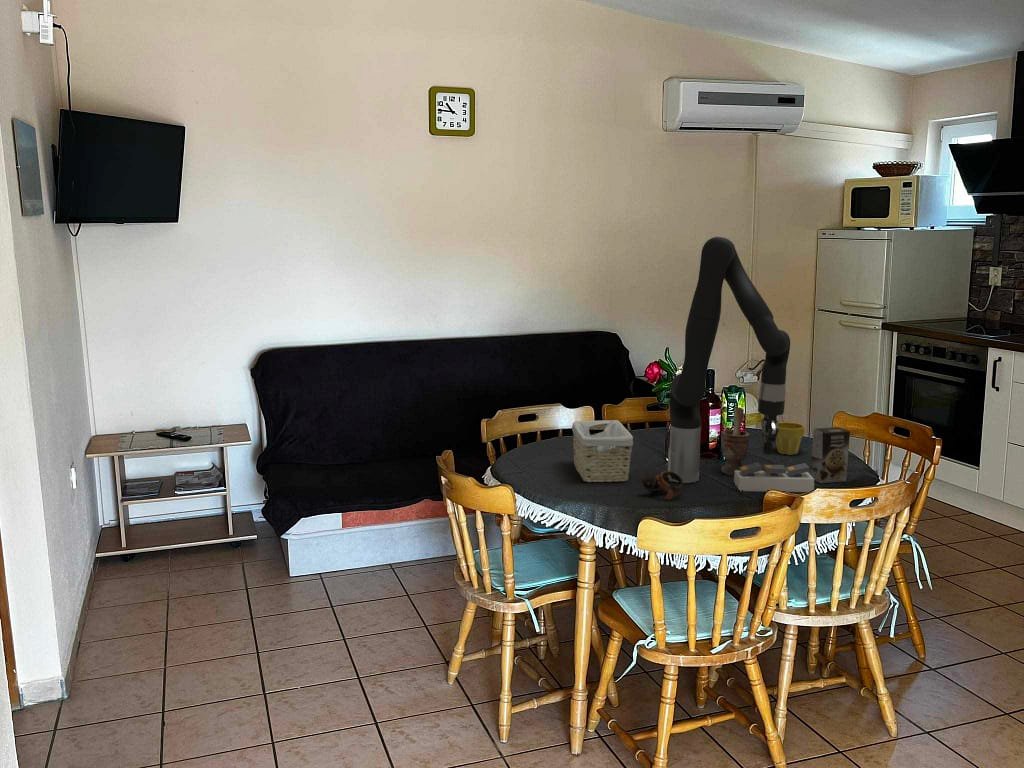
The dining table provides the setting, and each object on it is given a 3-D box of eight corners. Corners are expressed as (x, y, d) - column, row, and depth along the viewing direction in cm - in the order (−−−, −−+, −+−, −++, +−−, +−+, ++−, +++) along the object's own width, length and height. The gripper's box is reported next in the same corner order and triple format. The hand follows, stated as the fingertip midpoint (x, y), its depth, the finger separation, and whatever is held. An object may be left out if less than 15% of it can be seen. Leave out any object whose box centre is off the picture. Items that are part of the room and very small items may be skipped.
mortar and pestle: (715, 465, 301) (718, 406, 297) (742, 465, 300) (745, 406, 296) (722, 476, 289) (725, 414, 285) (749, 476, 289) (753, 414, 285)
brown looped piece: (671, 490, 277) (682, 470, 272) (677, 512, 269) (688, 493, 265) (634, 482, 274) (645, 462, 270) (639, 505, 267) (650, 485, 262)
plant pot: (768, 448, 322) (770, 421, 320) (798, 448, 321) (800, 421, 319) (775, 456, 311) (777, 428, 310) (806, 456, 311) (808, 428, 309)
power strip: (739, 491, 274) (739, 476, 273) (733, 482, 282) (734, 468, 281) (813, 492, 273) (814, 477, 272) (806, 484, 281) (807, 469, 280)
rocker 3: (790, 476, 275) (789, 471, 274) (786, 471, 279) (785, 467, 279) (810, 471, 274) (809, 466, 274) (806, 467, 278) (805, 462, 278)
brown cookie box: (821, 483, 282) (824, 432, 278) (809, 477, 288) (812, 427, 284) (847, 481, 284) (850, 431, 281) (834, 475, 290) (838, 426, 287)
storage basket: (570, 463, 304) (570, 419, 301) (618, 461, 305) (619, 418, 302) (581, 484, 280) (582, 438, 278) (633, 483, 282) (634, 437, 279)
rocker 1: (743, 475, 275) (741, 470, 275) (740, 471, 280) (738, 466, 279) (762, 470, 275) (761, 465, 274) (759, 466, 279) (758, 461, 279)
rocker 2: (765, 473, 275) (765, 468, 274) (762, 469, 279) (762, 464, 279) (785, 473, 274) (786, 468, 274) (782, 469, 279) (782, 464, 278)
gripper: (754, 392, 279) (750, 447, 282) (763, 401, 266) (759, 459, 269) (779, 393, 278) (775, 448, 282) (790, 402, 265) (785, 460, 269)
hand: (767, 453), depth 275 cm, fingers closed
